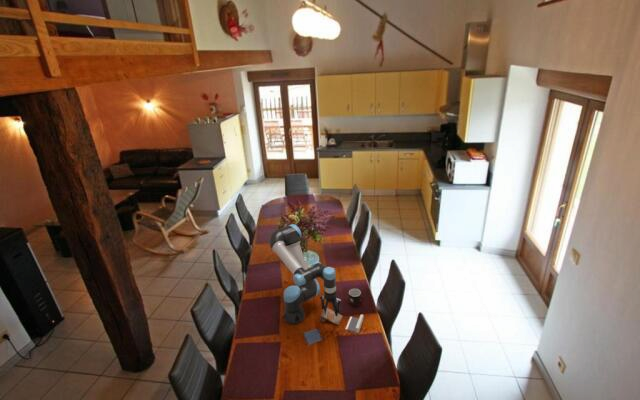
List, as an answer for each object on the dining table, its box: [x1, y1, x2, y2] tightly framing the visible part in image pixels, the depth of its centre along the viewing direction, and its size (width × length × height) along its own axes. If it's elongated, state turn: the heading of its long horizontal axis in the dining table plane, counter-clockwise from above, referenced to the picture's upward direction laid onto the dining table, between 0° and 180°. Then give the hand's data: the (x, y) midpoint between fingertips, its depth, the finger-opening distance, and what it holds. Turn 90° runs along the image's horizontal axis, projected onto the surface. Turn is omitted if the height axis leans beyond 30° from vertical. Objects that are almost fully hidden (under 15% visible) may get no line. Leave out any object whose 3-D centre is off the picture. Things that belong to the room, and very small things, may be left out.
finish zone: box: [345, 314, 364, 334], centre depth 226 cm, size 9×13×4 cm
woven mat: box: [302, 328, 323, 346], centre depth 219 cm, size 10×11×2 cm
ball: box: [328, 311, 335, 320], centre depth 218 cm, size 5×5×5 cm
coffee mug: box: [348, 288, 365, 307], centre depth 243 cm, size 12×9×10 cm
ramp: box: [319, 307, 344, 326], centre depth 232 cm, size 13×9×6 cm
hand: (331, 318), depth 219 cm, fingers closed on ball, 5 cm apart
